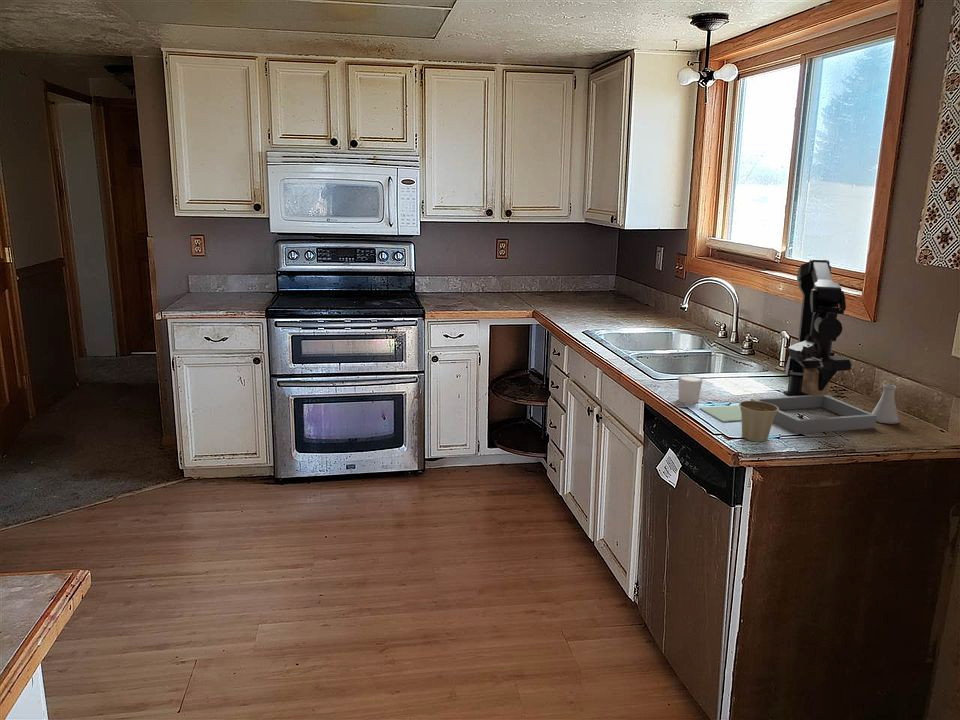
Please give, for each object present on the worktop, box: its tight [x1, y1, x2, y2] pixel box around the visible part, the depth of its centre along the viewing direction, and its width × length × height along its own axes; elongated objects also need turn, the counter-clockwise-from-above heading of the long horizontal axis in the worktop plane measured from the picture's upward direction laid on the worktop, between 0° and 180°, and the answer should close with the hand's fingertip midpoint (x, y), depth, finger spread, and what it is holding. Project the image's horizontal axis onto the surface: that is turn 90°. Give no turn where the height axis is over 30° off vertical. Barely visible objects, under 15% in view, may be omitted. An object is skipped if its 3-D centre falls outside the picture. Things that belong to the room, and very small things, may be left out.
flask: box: [871, 384, 900, 425], centre depth 204 cm, size 7×7×10 cm
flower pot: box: [738, 400, 779, 443], centre depth 187 cm, size 9×9×9 cm
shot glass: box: [677, 375, 703, 405], centre depth 218 cm, size 7×7×7 cm
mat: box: [699, 405, 742, 423], centre depth 207 cm, size 12×12×1 cm
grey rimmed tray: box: [750, 395, 877, 435], centre depth 204 cm, size 20×24×4 cm
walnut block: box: [801, 368, 829, 396], centre depth 202 cm, size 4×4×6 cm
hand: (814, 388), depth 202 cm, fingers closed on walnut block, 4 cm apart
